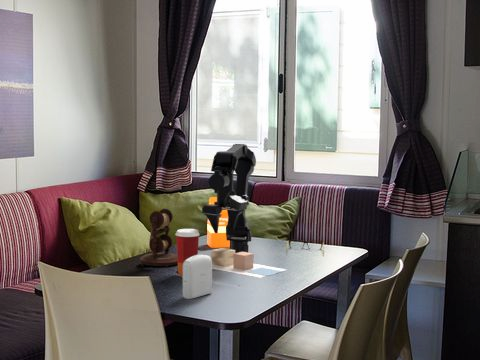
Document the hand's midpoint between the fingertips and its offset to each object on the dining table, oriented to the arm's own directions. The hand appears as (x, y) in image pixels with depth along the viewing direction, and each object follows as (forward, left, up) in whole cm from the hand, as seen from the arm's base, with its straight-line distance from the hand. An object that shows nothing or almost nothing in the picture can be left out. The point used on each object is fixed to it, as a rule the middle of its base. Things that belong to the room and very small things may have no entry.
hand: (224, 231), depth 266 cm
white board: (+9, 0, -13) cm, 15 cm away
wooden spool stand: (-18, -13, -13) cm, 26 cm away
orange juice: (-26, +30, -13) cm, 42 cm away
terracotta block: (+9, 0, -12) cm, 15 cm away
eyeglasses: (+7, +43, -13) cm, 45 cm away
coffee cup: (-2, -17, -13) cm, 22 cm away
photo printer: (+19, -36, -13) cm, 43 cm away
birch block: (0, 0, -12) cm, 12 cm away
